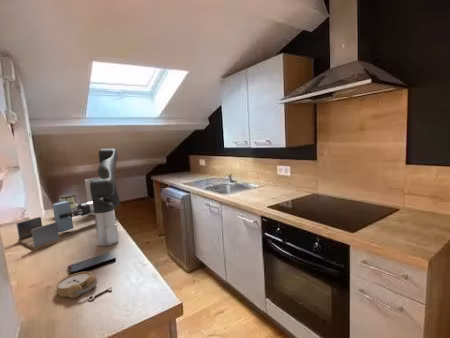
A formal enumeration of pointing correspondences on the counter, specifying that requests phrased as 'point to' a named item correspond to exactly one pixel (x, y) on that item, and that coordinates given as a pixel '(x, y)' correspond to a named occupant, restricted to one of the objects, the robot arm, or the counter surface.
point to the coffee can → (69, 199)
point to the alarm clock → (76, 284)
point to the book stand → (30, 243)
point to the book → (62, 223)
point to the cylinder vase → (89, 189)
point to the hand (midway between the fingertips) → (57, 216)
